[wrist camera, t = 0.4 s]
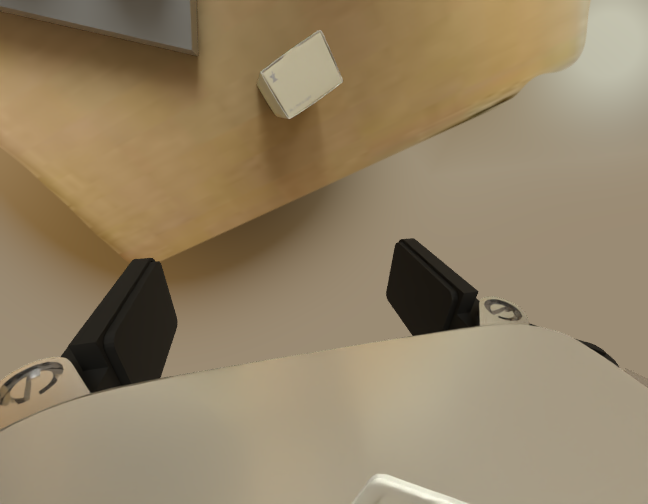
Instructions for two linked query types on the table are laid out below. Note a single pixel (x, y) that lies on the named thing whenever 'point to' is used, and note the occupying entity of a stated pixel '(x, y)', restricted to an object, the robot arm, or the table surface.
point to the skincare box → (300, 77)
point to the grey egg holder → (120, 19)
